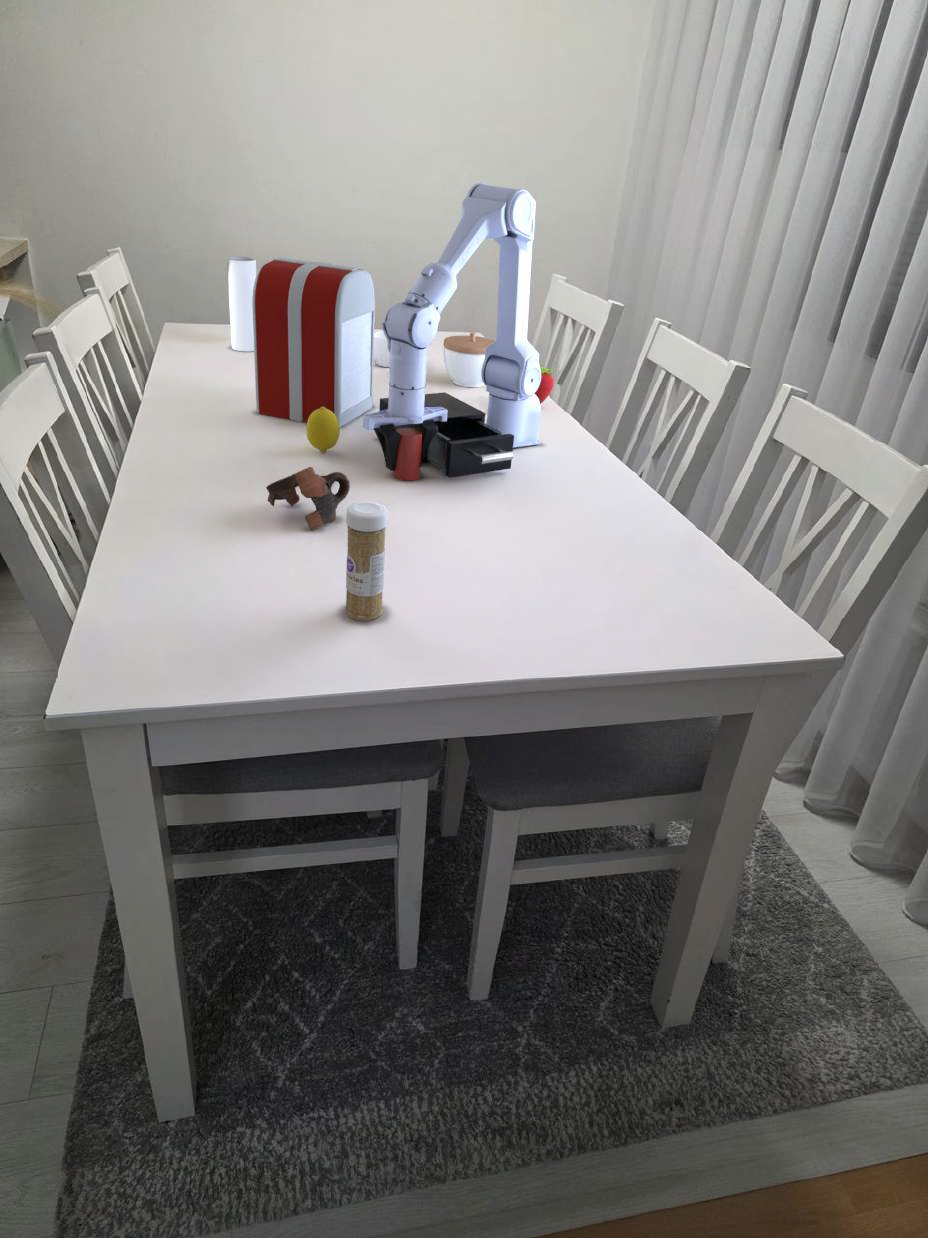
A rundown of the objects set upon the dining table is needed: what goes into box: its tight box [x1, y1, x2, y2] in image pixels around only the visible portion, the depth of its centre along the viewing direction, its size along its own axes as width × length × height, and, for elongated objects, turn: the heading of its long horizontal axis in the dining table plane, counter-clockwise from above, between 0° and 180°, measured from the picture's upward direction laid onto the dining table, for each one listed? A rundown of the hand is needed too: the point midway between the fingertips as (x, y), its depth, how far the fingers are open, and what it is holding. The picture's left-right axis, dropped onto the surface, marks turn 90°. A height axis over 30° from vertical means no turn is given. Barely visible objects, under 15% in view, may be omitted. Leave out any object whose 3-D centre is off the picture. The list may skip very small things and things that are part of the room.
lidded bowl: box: [443, 331, 496, 388], centre depth 197 cm, size 13×13×11 cm
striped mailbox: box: [252, 256, 376, 429], centre depth 166 cm, size 16×18×27 cm
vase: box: [226, 256, 258, 352], centre depth 207 cm, size 11×7×20 cm, turn 104°
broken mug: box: [265, 466, 351, 531], centre depth 128 cm, size 12×10×8 cm
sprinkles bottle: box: [344, 501, 388, 622], centre depth 102 cm, size 5×5×13 cm
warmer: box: [378, 391, 486, 464], centre depth 157 cm, size 14×14×8 cm
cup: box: [373, 331, 390, 368], centre depth 205 cm, size 8×10×7 cm
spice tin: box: [392, 428, 422, 482], centre depth 144 cm, size 4×4×8 cm
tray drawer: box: [424, 419, 514, 479], centre depth 148 cm, size 17×12×6 cm
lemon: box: [306, 407, 340, 454], centre depth 150 cm, size 6×6×8 cm
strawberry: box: [534, 359, 556, 405], centre depth 184 cm, size 6×8×10 cm
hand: (403, 467), depth 146 cm, fingers closed on spice tin, 4 cm apart
